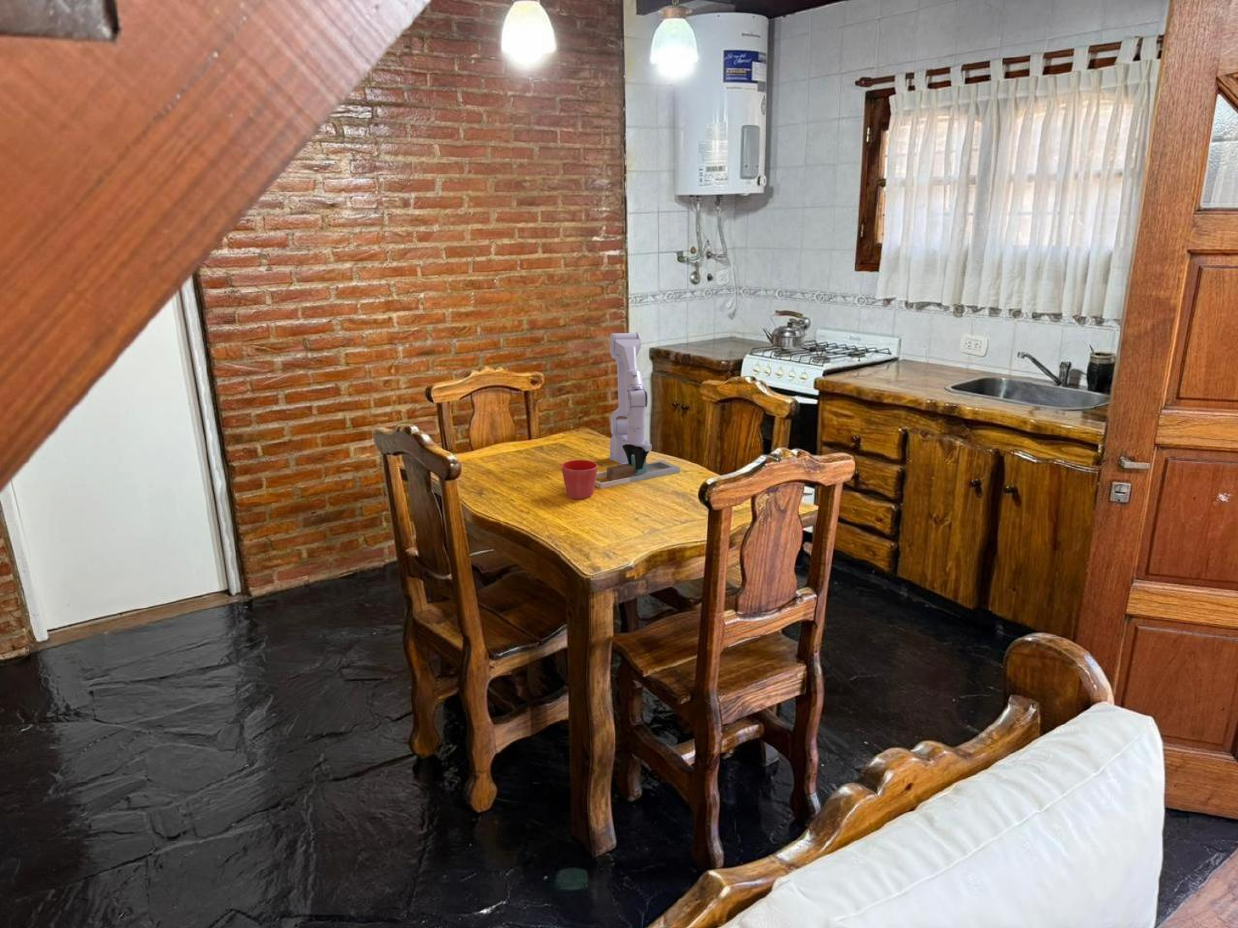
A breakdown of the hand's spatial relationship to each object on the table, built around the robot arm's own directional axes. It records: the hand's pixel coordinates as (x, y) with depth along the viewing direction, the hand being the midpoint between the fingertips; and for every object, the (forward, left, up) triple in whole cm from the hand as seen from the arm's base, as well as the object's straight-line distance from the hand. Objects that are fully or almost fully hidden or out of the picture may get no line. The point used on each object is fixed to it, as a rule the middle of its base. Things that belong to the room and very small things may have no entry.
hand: (635, 467), depth 270 cm
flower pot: (+6, -25, -3) cm, 26 cm away
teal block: (0, +1, -2) cm, 3 cm away
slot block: (0, +4, -3) cm, 5 cm away
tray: (0, -11, -3) cm, 12 cm away
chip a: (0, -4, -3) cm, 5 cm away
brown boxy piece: (0, -8, -3) cm, 8 cm away
